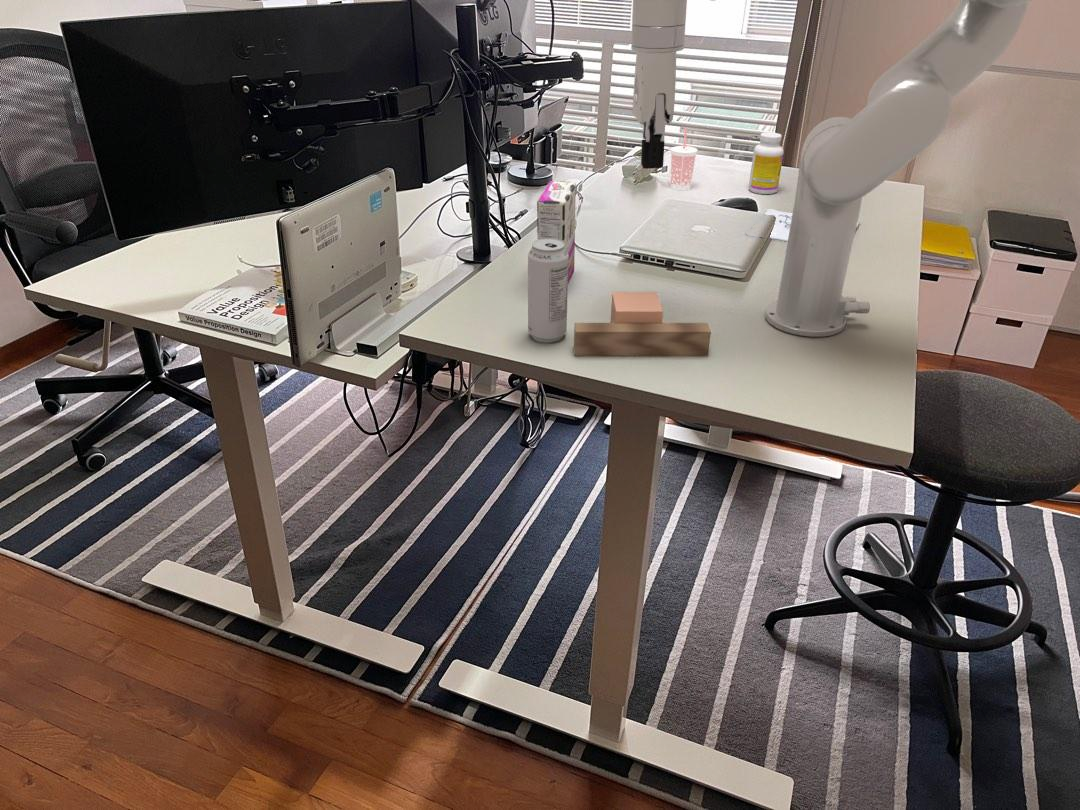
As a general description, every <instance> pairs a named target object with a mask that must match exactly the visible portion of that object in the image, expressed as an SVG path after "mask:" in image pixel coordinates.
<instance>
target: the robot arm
mask: <svg viewBox="0 0 1080 810" xmlns="http://www.w3.org/2000/svg"><path fill="white" fill-rule="evenodd" d="M711 1H715V0H711ZM1031 1H1033V0H959V1H958V3H957V5H956V7H955V8H954V10H953V11H952V13H951V14H950V15H949V16H948V17H947V18H946V19H945V20H944V21H943V22H942V24H940V25H939V26H938V27H937V28H936V29H935V30H934V31H933V32H932V33H931V34H930V35H929V36H927V37H926V39H924V40H923V41H922V42H921V43H919V44H918V45H917V46H915V48H913V49H912V50H911V51H910V52H909V53H907V55H905V56H904V57H903V58H902V59H900V60H899V61H898V62H897V63H895V64H894V65H893V66H892V67H890V68H889V69H888V70H886V71H885V72H884V73H882V74H881V75H880V76H879V77H878V78H877V79H876V80H875V82H874V83H873V85H872V87H871V88H870V89H869V93H868V97H867V103H866V104H867V105H866V106H865V107H864V108H863V109H862V110H860V111H859V112H858V113H856V114H855V116H854V117H852V118H850V117H846V116H834V117H830V118H828V119H825V120H823V121H821V122H820V123H818V124H817V125H816V126H814V127H813V128H812V130H810V132H809V133H808V135H807V136H806V138H805V140H804V142H803V146H802V149H801V154H800V159H799V168H798V176H797V183H796V190H795V196H794V203H793V209H792V213H793V214H792V220H791V225H790V231H789V237H788V243H787V244H786V249H785V255H784V261H783V267H782V273H781V279H780V285H779V289H778V290H779V291H778V295H777V300H773V301H772V302H770V303H769V304H768V305H767V306H766V309H765V312H764V317H765V319H766V321H767V322H768V323H769V324H770V325H771V326H773V327H775V328H776V329H778V330H780V331H783V332H785V333H789V334H792V335H796V336H801V337H802V336H803V337H807V338H808V337H812V338H813V337H815V338H816V337H817V338H818V337H819V338H820V337H829V336H832V335H837V334H839V333H840V332H842V331H843V330H844V329H845V327H846V324H847V317H846V316H849V315H850V314H869V313H870V309H871V306H870V302H869V301H857V297H856V296H843V289H844V284H845V280H846V274H847V271H848V266H849V261H850V258H851V252H852V248H853V243H854V239H855V236H856V235H855V234H856V232H857V231H856V229H857V228H858V227H857V222H858V219H859V217H860V212H861V211H860V210H861V206H862V202H863V201H862V200H863V197H865V196H867V195H868V194H869V193H871V192H872V191H874V190H875V189H876V188H878V187H879V186H880V185H882V184H883V183H884V182H885V181H887V180H889V179H890V178H891V177H892V176H894V175H895V174H896V173H897V172H898V171H900V170H901V169H902V168H903V167H905V166H906V165H908V164H909V163H910V162H912V161H913V160H914V159H915V158H917V157H918V156H919V155H920V154H922V152H924V151H925V150H927V149H928V148H929V147H930V146H931V145H932V144H934V142H935V141H936V140H937V139H938V138H939V137H940V135H941V134H942V133H943V132H944V130H945V129H946V127H947V125H948V123H949V121H950V118H951V115H952V114H951V113H952V107H953V102H952V101H953V99H954V98H955V97H956V96H958V95H959V94H960V93H961V92H963V90H965V89H966V88H968V86H969V85H971V84H972V83H973V82H974V81H976V79H977V78H979V77H980V76H981V75H982V74H983V73H985V72H986V71H987V70H988V69H989V68H991V66H993V64H994V63H995V62H996V61H997V60H998V59H1000V57H1001V56H1002V55H1003V54H1004V53H1005V51H1007V49H1008V48H1009V46H1010V45H1011V44H1012V42H1013V41H1014V38H1016V35H1017V33H1018V32H1019V30H1020V27H1021V25H1022V23H1023V21H1024V18H1025V16H1026V13H1027V9H1028V6H1029V4H1030V3H1029V2H1031ZM687 2H688V0H632V17H631V18H632V19H631V43H630V44H631V48H630V50H632V51H634V52H636V56H635V68H634V81H633V96H632V97H633V98H632V114H633V115H634V118H635V119H636V121H637V122H638V123H639V124H640V125H642V139H641V153H640V156H641V158H640V159H641V160H640V165H641V166H642V169H647V170H648V169H663V167H664V161H665V159H664V157H665V134H666V124H667V125H669V124H670V123H672V122H673V120H674V113H675V104H676V103H675V102H676V101H675V99H676V84H677V83H676V82H677V81H676V79H677V52H680V51H683V50H684V49H685V35H686V21H687V9H688V8H687V7H688V3H687ZM856 227H857V228H856Z"/></svg>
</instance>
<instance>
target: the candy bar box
mask: <svg viewBox="0 0 1080 810" xmlns="http://www.w3.org/2000/svg"><path fill="white" fill-rule="evenodd" d="M576 185H577V182H572V181H562V180H561V181H557V180H551V181H549V182H548V183H547V185H546V187H545V188H544V190H543V192H542V193H541V195H540V196H539V198H538V199H537V201H536V206H537V207H536V209H537V210H536V211H537V212H536V213H537V214H536V215H537V220H536V221H537V222H536V223H537V228H536V230H537V231H536V232H537V233H536V234H537V235H536V236H537V240H538V239H544V238H552V239H558V240H561V241H563V242H564V243H565V249H566V251H567V253H568V255H569V260H568V284H569V282H570V280H571V278H572V275H573V274H574V272H575V252H576V250H575V249H576V247H575V246H576V245H575V242H576V199H577V198H576V195H577V193H576V192H577V191H576Z"/></svg>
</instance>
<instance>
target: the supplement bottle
mask: <svg viewBox="0 0 1080 810" xmlns="http://www.w3.org/2000/svg"><path fill="white" fill-rule="evenodd" d="M759 136H760V137H759V141H760V143H759V144H756V146H755V147H754V148H753V152H752V161H751V169H750V175H749V176H750V177H749V183H748V189H749V191H750V192H752V193H755V194H758V195H772V194H775V193H777V192H778V189H779V183H780V178H781V171H782V163H783V157H784V152H785V151H784V149H783V147H782V146H781V145H780V143H781V141H782V136H783V135H782V134H781V133H779V132H778V133H776V132H772V131H768V132H767V131H766V132H761V133H760V135H759Z"/></svg>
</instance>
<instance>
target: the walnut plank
mask: <svg viewBox="0 0 1080 810" xmlns="http://www.w3.org/2000/svg"><path fill="white" fill-rule="evenodd" d="M573 325H574V326H573V327H574V329H573V330H574V331H573V351H574V357H579V356H580V357H584V356H585V357H586V356H589V357H590V356H591V357H592V356H593V357H597V356H598V357H613V356H614V357H617V356H618V357H622V356H623V357H624V356H625V357H626V356H630V357H632V356H633V357H635V356H636V357H637V356H638V357H642V356H643V357H645V356H647V357H650V356H651V357H653V356H654V357H657V356H659V357H661V356H662V357H669V356H671V357H673V356H675V357H677V356H679V357H680V356H681V357H682V356H683V357H687V356H688V357H689V356H690V357H697V356H699V357H700V356H701V357H702V356H703V357H704V356H705V357H707V356H709V351H710V344H711V335H712V331H711V328H710V326H709V323H708V322H662V323H610V322H574V324H573Z"/></svg>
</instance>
